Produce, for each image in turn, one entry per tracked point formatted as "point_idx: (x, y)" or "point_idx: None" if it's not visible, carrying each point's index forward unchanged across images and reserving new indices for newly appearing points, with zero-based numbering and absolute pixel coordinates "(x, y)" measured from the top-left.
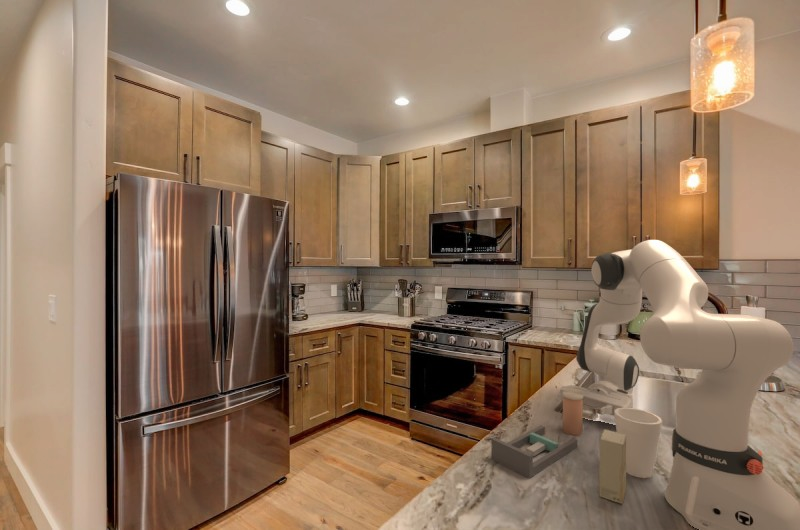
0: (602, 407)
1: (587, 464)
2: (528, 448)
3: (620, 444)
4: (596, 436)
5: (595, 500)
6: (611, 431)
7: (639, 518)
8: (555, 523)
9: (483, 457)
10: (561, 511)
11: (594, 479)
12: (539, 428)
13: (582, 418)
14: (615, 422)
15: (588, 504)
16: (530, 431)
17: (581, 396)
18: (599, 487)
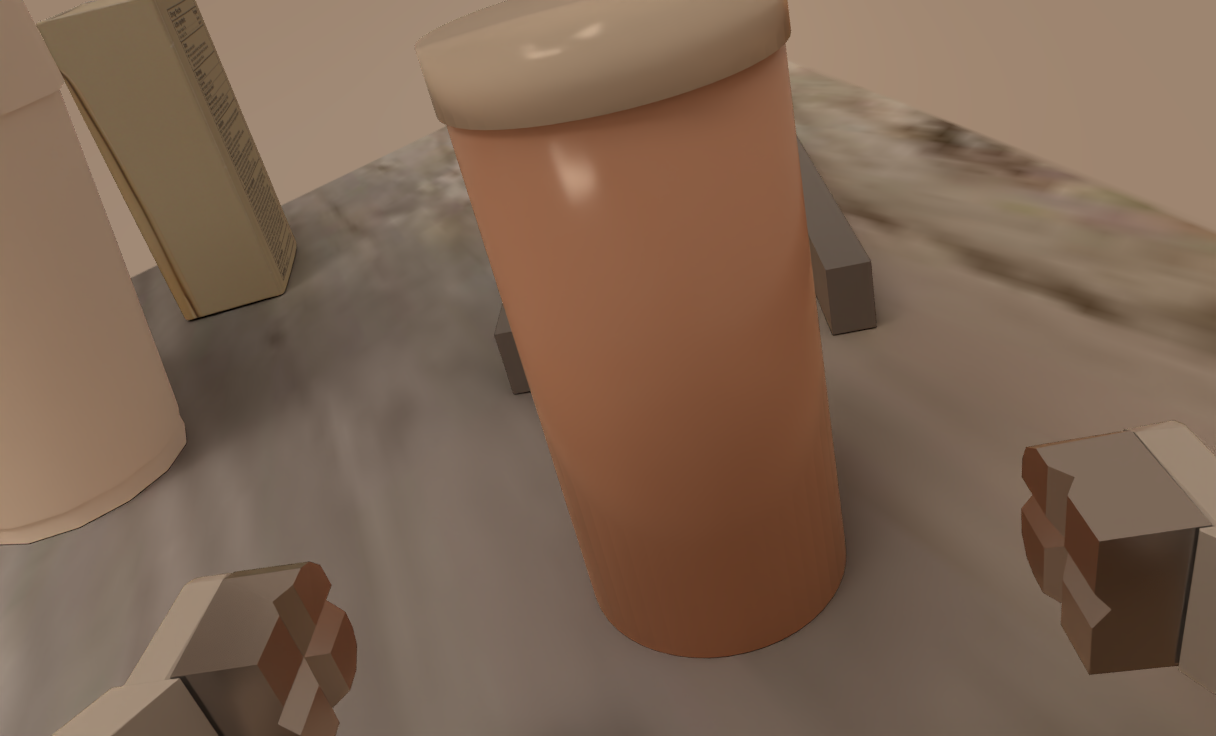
0: (184, 642)
1: (387, 325)
2: None
3: (94, 1)
4: (429, 686)
5: (309, 233)
6: (115, 2)
7: (159, 272)
8: (400, 148)
9: (794, 98)
10: (400, 165)
11: (330, 285)
12: (825, 235)
13: (542, 426)
14: (59, 73)
15: (330, 213)
16: (821, 188)
17: (428, 33)
18: (281, 208)
